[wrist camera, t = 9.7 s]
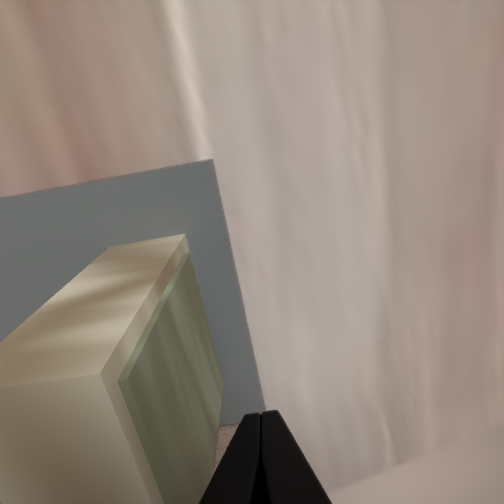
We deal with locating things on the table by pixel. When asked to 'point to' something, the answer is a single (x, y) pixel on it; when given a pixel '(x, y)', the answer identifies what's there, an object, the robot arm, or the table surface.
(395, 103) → the table surface
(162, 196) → the slate mat
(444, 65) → the table surface
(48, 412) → the beech board
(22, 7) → the table surface
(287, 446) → the robot arm
